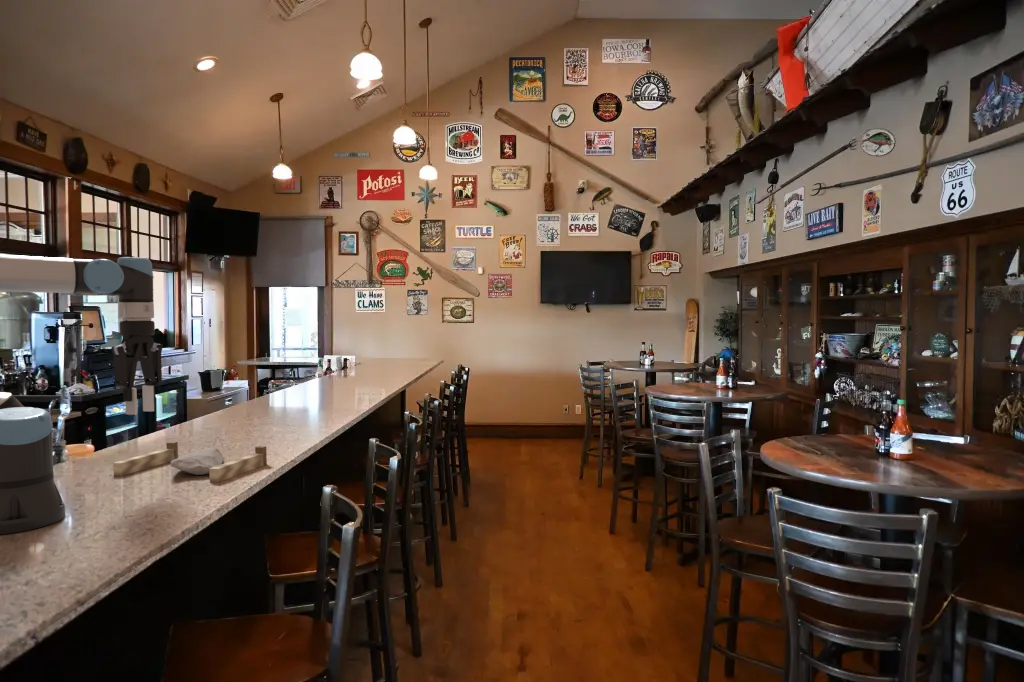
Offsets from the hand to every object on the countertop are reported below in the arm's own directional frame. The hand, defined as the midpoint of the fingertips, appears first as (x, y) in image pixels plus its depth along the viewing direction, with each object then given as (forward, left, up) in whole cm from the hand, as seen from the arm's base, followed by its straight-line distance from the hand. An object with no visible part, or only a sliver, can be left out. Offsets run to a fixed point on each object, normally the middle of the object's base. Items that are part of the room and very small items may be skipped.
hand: (140, 412), depth 156 cm
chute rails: (+17, 0, -19) cm, 25 cm away
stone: (+20, -1, -19) cm, 27 cm away
